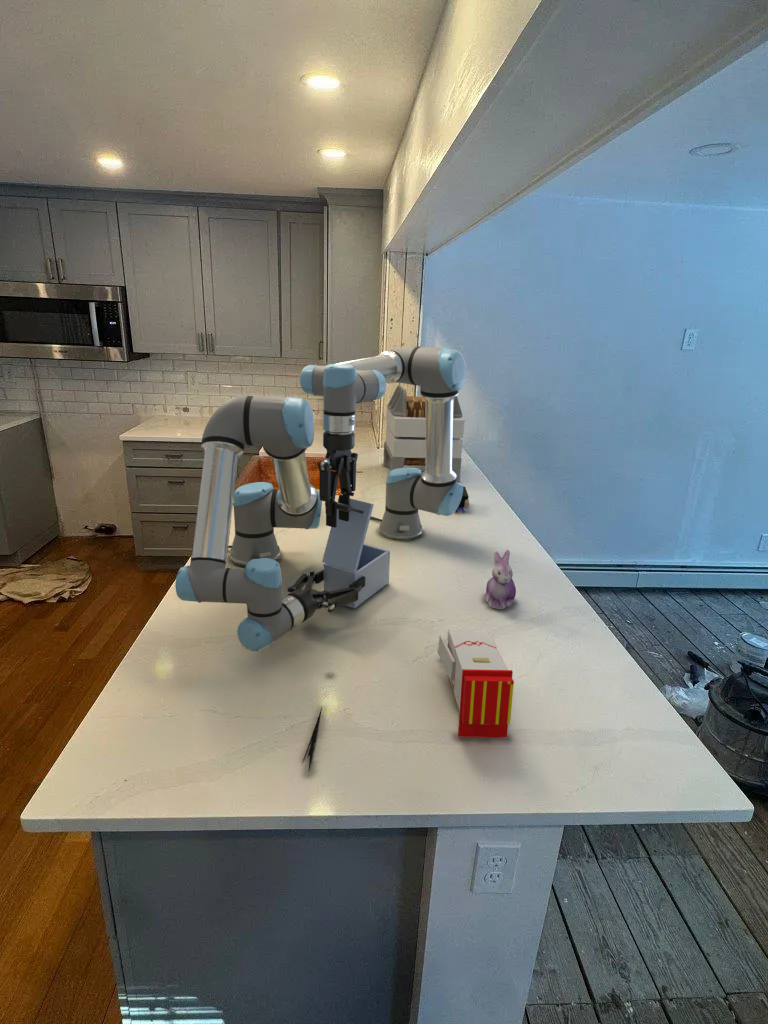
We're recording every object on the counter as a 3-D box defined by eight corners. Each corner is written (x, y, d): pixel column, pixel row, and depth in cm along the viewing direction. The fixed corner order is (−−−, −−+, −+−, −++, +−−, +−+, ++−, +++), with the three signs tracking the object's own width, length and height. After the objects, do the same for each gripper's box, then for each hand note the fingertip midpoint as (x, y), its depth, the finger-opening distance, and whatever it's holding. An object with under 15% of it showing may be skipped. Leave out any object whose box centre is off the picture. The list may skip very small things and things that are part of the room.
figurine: (497, 613, 149) (504, 562, 144) (474, 596, 158) (480, 547, 153) (525, 606, 154) (532, 556, 149) (501, 590, 162) (508, 542, 157)
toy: (488, 613, 130) (523, 677, 101) (484, 667, 133) (517, 744, 104) (435, 612, 130) (455, 676, 101) (432, 666, 133) (451, 743, 103)
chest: (359, 573, 168) (360, 542, 165) (388, 582, 163) (390, 550, 160) (323, 597, 154) (323, 564, 150) (354, 608, 149) (355, 574, 146)
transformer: (382, 463, 289) (386, 382, 275) (445, 464, 293) (451, 384, 279) (390, 482, 257) (394, 392, 243) (460, 483, 261) (468, 394, 247)
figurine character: (469, 517, 223) (463, 501, 236) (471, 500, 219) (465, 484, 233) (452, 516, 222) (447, 500, 236) (454, 499, 219) (449, 483, 232)
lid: (341, 496, 151) (322, 490, 143) (373, 504, 146) (356, 499, 138) (324, 562, 151) (304, 560, 143) (356, 572, 146) (337, 570, 138)
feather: (331, 679, 122) (336, 673, 122) (307, 777, 96) (313, 769, 95) (324, 675, 122) (329, 669, 121) (298, 772, 95) (304, 764, 95)
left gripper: (258, 609, 141) (313, 577, 159) (332, 638, 130) (382, 600, 148) (257, 582, 138) (313, 552, 156) (332, 609, 128) (383, 574, 146)
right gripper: (329, 440, 126) (328, 537, 134) (372, 428, 140) (369, 516, 148) (302, 435, 129) (303, 530, 137) (347, 424, 144) (345, 510, 152)
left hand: (347, 575), depth 152 cm, fingers closed on chest, 10 cm apart
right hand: (337, 522), depth 143 cm, fingers open, 5 cm apart
